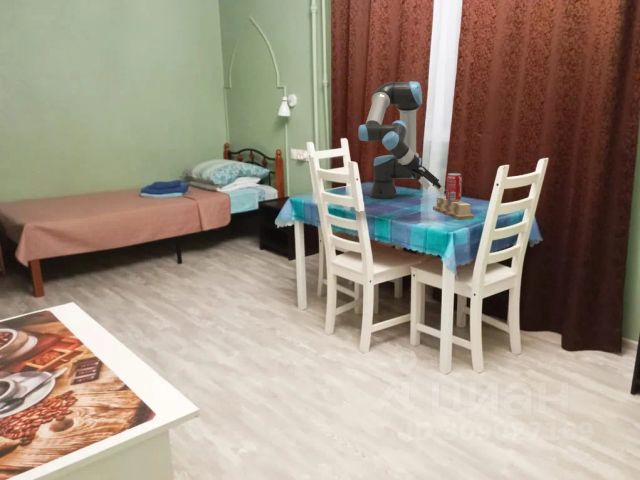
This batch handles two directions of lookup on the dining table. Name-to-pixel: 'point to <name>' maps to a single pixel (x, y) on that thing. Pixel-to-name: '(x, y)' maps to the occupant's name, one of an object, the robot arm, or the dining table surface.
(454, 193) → the soda can
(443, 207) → the ridge
